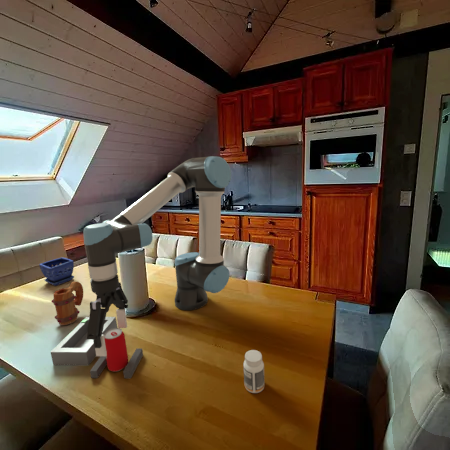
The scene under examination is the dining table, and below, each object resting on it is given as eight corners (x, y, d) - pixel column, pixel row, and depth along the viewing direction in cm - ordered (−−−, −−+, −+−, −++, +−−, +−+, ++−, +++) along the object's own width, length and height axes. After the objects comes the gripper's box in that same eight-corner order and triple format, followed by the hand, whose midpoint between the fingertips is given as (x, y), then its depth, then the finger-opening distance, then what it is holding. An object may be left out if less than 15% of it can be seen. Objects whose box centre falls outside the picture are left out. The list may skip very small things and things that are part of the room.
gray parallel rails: (143, 354, 88) (142, 348, 88) (130, 378, 78) (129, 371, 78) (107, 354, 89) (106, 348, 89) (91, 378, 79) (89, 370, 79)
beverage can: (122, 356, 88) (117, 324, 85) (132, 364, 84) (127, 331, 82) (104, 367, 83) (98, 334, 81) (114, 376, 80) (108, 342, 77)
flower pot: (77, 279, 154) (74, 260, 151) (53, 288, 143) (49, 267, 140) (65, 275, 161) (62, 256, 158) (42, 283, 150) (37, 264, 147)
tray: (117, 328, 104) (115, 316, 103) (88, 365, 85) (85, 351, 83) (88, 328, 105) (86, 316, 104) (53, 365, 85) (50, 351, 84)
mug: (68, 329, 105) (61, 295, 101) (51, 327, 106) (43, 293, 103) (93, 309, 119) (87, 279, 115) (77, 308, 120) (71, 278, 117)
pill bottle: (262, 377, 77) (262, 347, 75) (266, 393, 71) (265, 362, 69) (243, 378, 77) (242, 348, 74) (245, 395, 71) (244, 363, 69)
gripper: (112, 261, 89) (119, 317, 94) (63, 296, 65) (76, 370, 70) (133, 261, 89) (140, 317, 93) (92, 296, 65) (103, 370, 69)
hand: (113, 340), depth 81 cm, fingers open, 13 cm apart
